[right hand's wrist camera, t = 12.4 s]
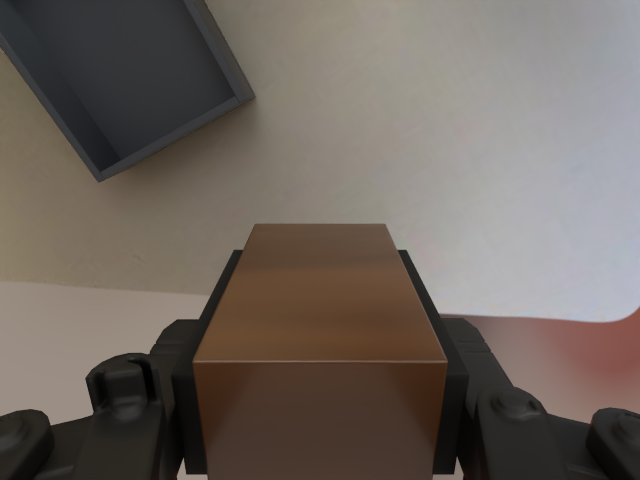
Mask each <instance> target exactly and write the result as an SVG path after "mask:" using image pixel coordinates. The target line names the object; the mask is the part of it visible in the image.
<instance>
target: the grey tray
mask: <svg viewBox="0 0 640 480" xmlns="http://www.w3.org/2000/svg"><path fill="white" fill-rule="evenodd" d="M0 47H1V48H2V50H3V51H4V52H5V54H6V55H7V56H8V58H9V59H10V61H11V62H12V63H13V65H14V66H15V68H16V69H17V70H18V72H19V73H20V74H21V76H22V77H23V79H24V80H25V81H26V83H27V84H28V86H29V87H30V88H31V90H32V91H33V92H34V94H35V95H36V97H37V98H38V99H39V101H40V102H41V104H42V105H43V106H44V108H45V109H46V110H47V112H48V113H49V115H50V116H51V117H52V119H53V120H54V122H55V123H56V124H57V126H58V127H59V128H60V130H61V131H62V133H63V134H64V135H65V137H66V138H67V140H68V141H69V142H70V144H71V145H72V146H73V148H74V149H75V151H76V152H77V153H78V155H79V156H80V158H81V159H82V160H83V162H84V163H85V164H86V166H87V167H88V169H89V170H90V171H91V173H92V174H93V176H94V177H95V178H96V180H97V181H98V182H101V181H103V180H105V179H107V178H110V177H112V176H114V175H116V174H118V173H120V172H122V171H124V170H126V169H128V168H130V167H132V166H133V165H135V164H137V163H139V162H141V161H142V160H144V159H146V158H148V157H149V156H151V155H153V154H155V153H157V152H158V151H160V150H162V149H164V148H166V147H167V146H169V145H171V144H173V143H175V142H176V141H178V140H180V139H182V138H183V137H185V136H187V135H189V134H191V133H192V132H194V131H196V130H198V129H200V128H201V127H203V126H205V125H207V124H209V123H210V122H212V121H214V120H216V119H217V118H219V117H221V116H223V115H225V114H226V113H228V112H230V111H232V110H234V109H235V108H237V107H239V106H241V105H243V104H244V103H246V102H248V101H250V100H251V99H253V98H255V97H256V96H255V94H254V92H253V90H252V88H251V87H250V85H249V83H248V81H247V79H246V77H245V75H244V74H243V72H242V70H241V68H240V66H239V64H238V62H237V61H236V59H235V57H234V55H233V53H232V51H231V49H230V48H229V46H228V44H227V42H226V40H225V38H224V36H223V35H222V33H221V31H220V29H219V27H218V25H217V23H216V22H215V20H214V18H213V16H212V14H211V12H210V10H209V9H208V7H207V5H206V3H205V1H204V0H0Z"/></svg>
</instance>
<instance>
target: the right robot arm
mask: <svg viewBox="0 0 640 480" xmlns="http://www.w3.org/2000/svg"><path fill="white" fill-rule="evenodd" d="M397 251H398V253H399V255H400V257H401V260H402V262H403V264H404V266H405V268H406V270H407V273H408V275H409V277H410V279H411V281H412V284H413V286H414V288H415V290H416V292H417V295H418V297H419V299H420V301H421V303H422V306H423V308H424V310H425V312H426V314H427V316H428V319H429V321H430V323H431V325H432V327H433V330H434V332H435V334H436V336H437V338H438V341H439V343H440V345H441V347H442V349H443V352H444V354H445V356H446V358H447V360H448V366H447V374H446V381H445V388H444V396H443V403H442V411H441V418H440V426H439V433H438V441H437V448H436V456H435V463H434V471H433V474H454V471H455V465H456V458H457V457H458V460H459V462H460V465H461V468H462V471H463V474H464V476H463V480H640V414H637V413H634V412H631V411H628V410H625V409H618V408H605V409H599V410H598V411H597V412H596V413H595V414H594V415H593V417H592V420H591V423H590V424H588V423H583V422H579V421H575V420H570V419H566V418H562V417H558V416H555V415H552V414H548V413H547V412H546V410H545V409H544V407H543V406H542V404H541V402H540V401H538V400H537V399H536V398H535V397H534V396H532V395H531V394H530V393H528V392H526V391H524V390H522V389H520V388H517V387H514V386H513V385H512V383H511V382H510V380H509V378H508V377H507V375H506V374H505V372H504V370H503V369H502V367H501V366H500V364H499V362H498V361H497V359H496V358H495V356H494V355H493V353H491V350H490V348H489V347H488V345H487V344H486V343H485V341H484V339H483V337H482V336H481V334H480V332H479V331H478V329H477V328H476V327H474V326H473V325H472V324H470V323H469V322H468V321H466V320H465V319H464V318H440V316H439V314H438V312H437V310H436V308H435V306H434V304H433V302H432V300H431V298H430V296H429V294H428V292H427V290H426V288H425V286H424V284H423V282H422V280H421V278H420V276H419V274H418V272H417V270H416V268H415V266H414V264H413V262H412V260H411V258H410V256H409V254H408V252H407V250H397ZM242 252H243V250H234V251H233V253H232V255H231V257H230V259H229V261H228V263H227V265H226V267H225V269H224V271H223V273H222V275H221V277H220V279H219V281H218V283H217V285H216V286H215V288H214V290H213V292H212V294H211V296H210V298H209V300H208V302H207V304H206V306H205V308H204V310H203V312H202V314H201V316H200V318H199V319H198V320H197V319H195V320H194V319H188V320H187V319H186V320H185V319H184V320H182V319H181V320H180V319H178V320H176V321H174V322H173V323H172V324H170V325H169V326H168V327H167V328H165V329H164V330H163V331H162V333H161V335H160V336H159V338H158V339H157V341H156V344H154V346H153V347H152V349H151V350H150V354H148V355H147V354H144V353H127V354H123V355H118V356H115V357H112V358H110V359H108V360H106V361H103V362H102V363H100V364H99V365H97V366H96V367H95V368H93V369H92V370H91V371H90V373H89V374H88V375H87V377H86V383H87V387H88V391H89V395H90V399H91V403H92V407H93V411H94V413H93V415H91V416H88V417H85V418H81V419H77V420H73V421H69V422H64V423H60V424H56V425H52V426H51V425H50V422H49V419H48V416H47V415H45V414H44V413H43V412H42V411H38V410H33V409H28V410H21V411H15V412H12V413H9V414H6V415H3V416H0V480H177V474H178V471H179V468H180V466H181V463H182V460H183V457H184V463H185V469H186V474H207V469H206V461H205V454H204V446H203V439H202V431H201V424H200V416H199V409H198V401H197V394H196V386H195V379H194V371H193V364H192V361H193V359H194V356H195V354H196V352H197V350H198V348H199V346H200V343H201V341H202V339H203V337H204V335H205V332H206V330H207V328H208V326H209V324H210V321H211V319H212V317H213V315H214V313H215V311H216V308H217V306H218V304H219V302H220V300H221V297H222V295H223V293H224V291H225V289H226V286H227V284H228V282H229V280H230V278H231V276H232V273H233V271H234V269H235V267H236V265H237V262H238V260H239V258H240V256H241V254H242Z"/></svg>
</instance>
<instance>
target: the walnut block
mask: <svg viewBox="0 0 640 480" xmlns="http://www.w3.org/2000/svg"><path fill="white" fill-rule="evenodd" d="M192 364H193V371H194V379H195V386H196V394H197V401H198V409H199V416H200V424H201V431H202V439H203V446H204V454H205V461H206V469H207V476H208V480H432V478H433V471H434V463H435V456H436V448H437V441H438V433H439V426H440V418H441V411H442V403H443V396H444V388H445V381H446V374H447V366H448V360H447V358H446V356H445V354H444V352H443V349H442V347H441V345H440V343H439V341H438V338H437V336H436V334H435V332H434V330H433V327H432V325H431V323H430V321H429V319H428V316H427V314H426V312H425V310H424V308H423V306H422V303H421V301H420V299H419V297H418V295H417V292H416V290H415V288H414V286H413V284H412V281H411V279H410V277H409V275H408V273H407V270H406V268H405V266H404V264H403V262H402V260H401V257H400V255H399V253H398V251H397V249H396V246H395V244H394V242H393V240H392V238H391V235H390V233H389V231H388V229H387V227H386V224H255V225H254V227H253V230H252V232H251V234H250V236H249V238H248V241H247V243H246V245H245V247H244V249H243V252H242V254H241V256H240V258H239V260H238V262H237V265H236V267H235V269H234V271H233V273H232V276H231V278H230V280H229V282H228V284H227V286H226V289H225V291H224V293H223V295H222V297H221V300H220V302H219V304H218V306H217V308H216V311H215V313H214V315H213V317H212V319H211V321H210V324H209V326H208V328H207V330H206V332H205V335H204V337H203V339H202V341H201V343H200V346H199V348H198V350H197V352H196V354H195V356H194V359H193V361H192Z"/></svg>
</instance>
